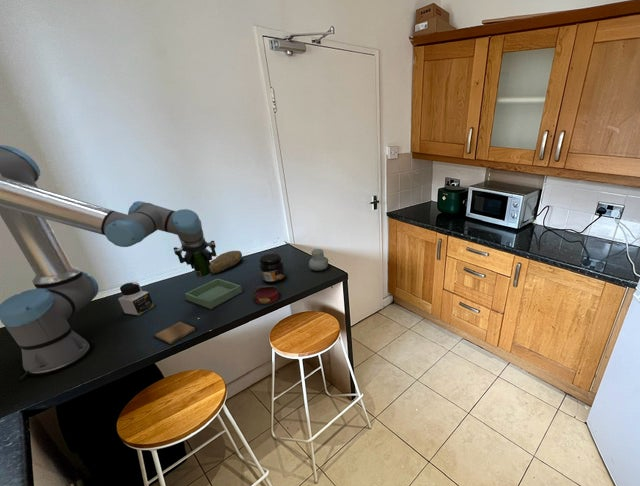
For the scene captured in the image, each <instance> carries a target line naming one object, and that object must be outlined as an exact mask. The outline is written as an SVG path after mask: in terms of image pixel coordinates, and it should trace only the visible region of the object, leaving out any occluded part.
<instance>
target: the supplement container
mask: <svg viewBox="0 0 640 486" xmlns="http://www.w3.org/2000/svg"><path fill="white" fill-rule="evenodd" d="M258 260H259V263H260V264H259V268H260V272H261V273H260V274H261V277H262V281H263V282H264V283H266V284H269V285H273V284H278V283H281V282H283V281H284V280H285V279H286V273H285V267H284V261H283V260H282V255H281V254H279V253H276V252H275V253H274V252H272V253H266V254H263V255H261V256H260V257H259V259H258Z"/></svg>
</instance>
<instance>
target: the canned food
mask: <svg viewBox="0 0 640 486" xmlns="http://www.w3.org/2000/svg"><path fill="white" fill-rule="evenodd" d="M251 289H252V290H255V291H254V292H253V296H254V301H255V302H256V303H257V304H260V305H266V304H271V303H274V302H276V301H277V300H278V299H279V298H280V293H279V288H277V285H265V284H264V285H263V284H262V285H254V286H253V287H252V288H251Z"/></svg>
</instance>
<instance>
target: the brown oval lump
mask: <svg viewBox="0 0 640 486" xmlns="http://www.w3.org/2000/svg"><path fill="white" fill-rule="evenodd" d="M215 257H216V258H214V259H212V260H209V261H210V265H209V268H210V271H211V274H212V275H214V274H218V273H220V272H223V271H224V270H226V269H229V268H232V267H233V266H235V265H237V263H240V261H241V259H242V258H243V253H242V251H240V250H229V251H226V252H224V253H220V254H219V255H217V256H215Z"/></svg>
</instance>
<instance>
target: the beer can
mask: <svg viewBox="0 0 640 486" xmlns="http://www.w3.org/2000/svg"><path fill="white" fill-rule="evenodd" d="M191 261H192V264H193V267H194V269H193V271H194V273H195V276H196V277H197V278H199V279H203V278H208V277H209V276H211V274H212V272H211V271H210V268H209V265H208V261H207V258H206V256H205V255H204V254H202V253H201V252H196V253H193V256H192V257H191Z"/></svg>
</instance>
